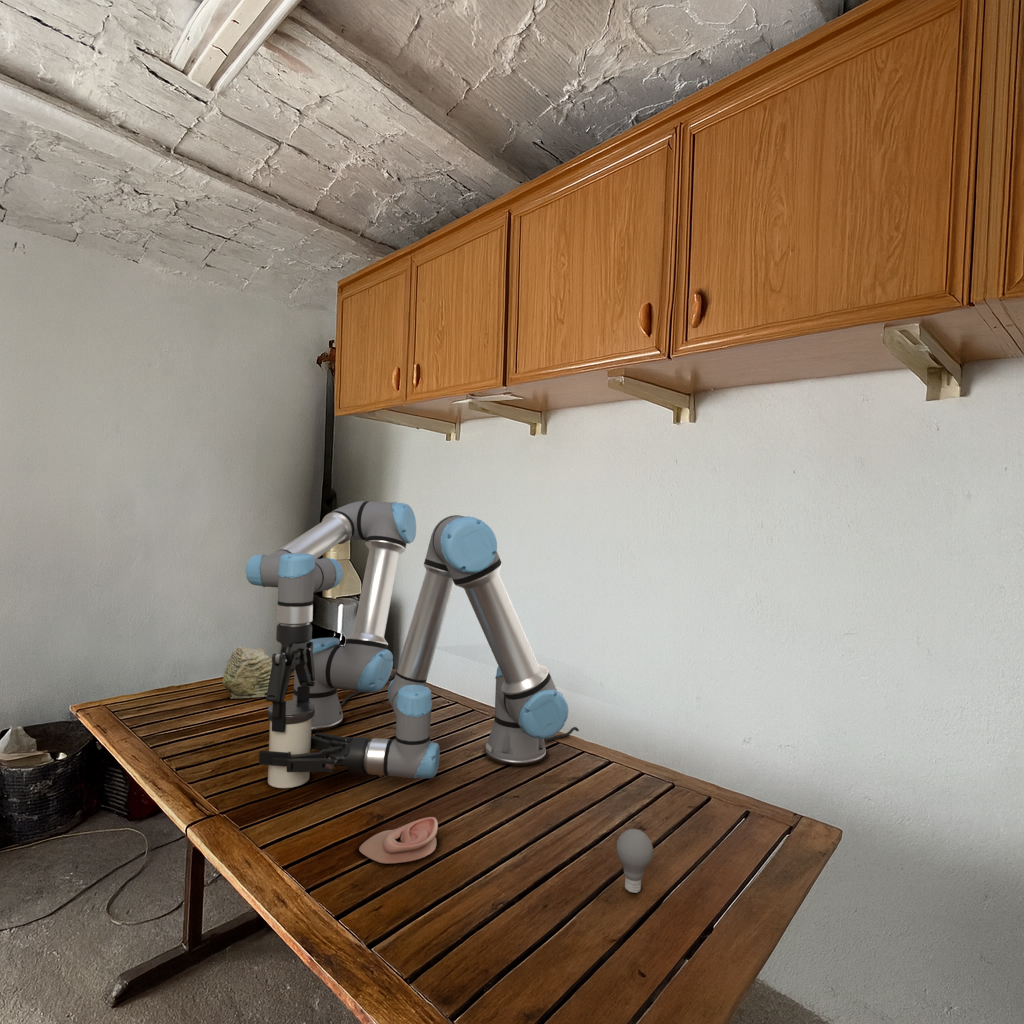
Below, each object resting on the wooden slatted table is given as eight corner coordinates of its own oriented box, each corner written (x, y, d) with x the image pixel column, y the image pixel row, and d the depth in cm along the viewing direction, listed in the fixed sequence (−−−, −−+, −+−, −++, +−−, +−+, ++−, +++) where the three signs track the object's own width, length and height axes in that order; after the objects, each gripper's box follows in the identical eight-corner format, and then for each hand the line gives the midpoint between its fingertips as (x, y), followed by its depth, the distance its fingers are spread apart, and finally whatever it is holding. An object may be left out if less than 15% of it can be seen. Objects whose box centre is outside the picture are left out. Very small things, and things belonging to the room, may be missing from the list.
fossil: (218, 695, 195) (220, 647, 195) (278, 685, 208) (279, 640, 207) (228, 703, 189) (230, 653, 188) (289, 692, 201) (290, 645, 201)
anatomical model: (352, 836, 111) (378, 805, 123) (351, 858, 111) (377, 826, 123) (423, 847, 109) (444, 815, 120) (422, 870, 109) (443, 836, 120)
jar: (318, 775, 144) (320, 707, 143) (290, 791, 136) (293, 719, 135) (287, 767, 147) (289, 701, 147) (258, 782, 139) (261, 712, 139)
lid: (303, 705, 148) (303, 697, 148) (322, 717, 141) (322, 709, 141) (260, 713, 141) (260, 705, 141) (278, 727, 134) (278, 718, 134)
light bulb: (610, 879, 108) (613, 822, 108) (644, 879, 109) (647, 822, 109) (619, 902, 102) (622, 840, 102) (655, 901, 103) (658, 840, 103)
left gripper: (303, 613, 152) (300, 705, 153) (250, 631, 130) (246, 739, 131) (333, 615, 151) (329, 708, 152) (283, 634, 129) (279, 743, 129)
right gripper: (352, 795, 129) (245, 787, 131) (381, 753, 151) (289, 746, 152) (353, 759, 129) (246, 751, 131) (383, 722, 151) (291, 715, 152)
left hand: (290, 722), depth 141 cm, fingers closed on lid, 10 cm apart
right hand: (270, 748), depth 142 cm, fingers closed on jar, 9 cm apart
